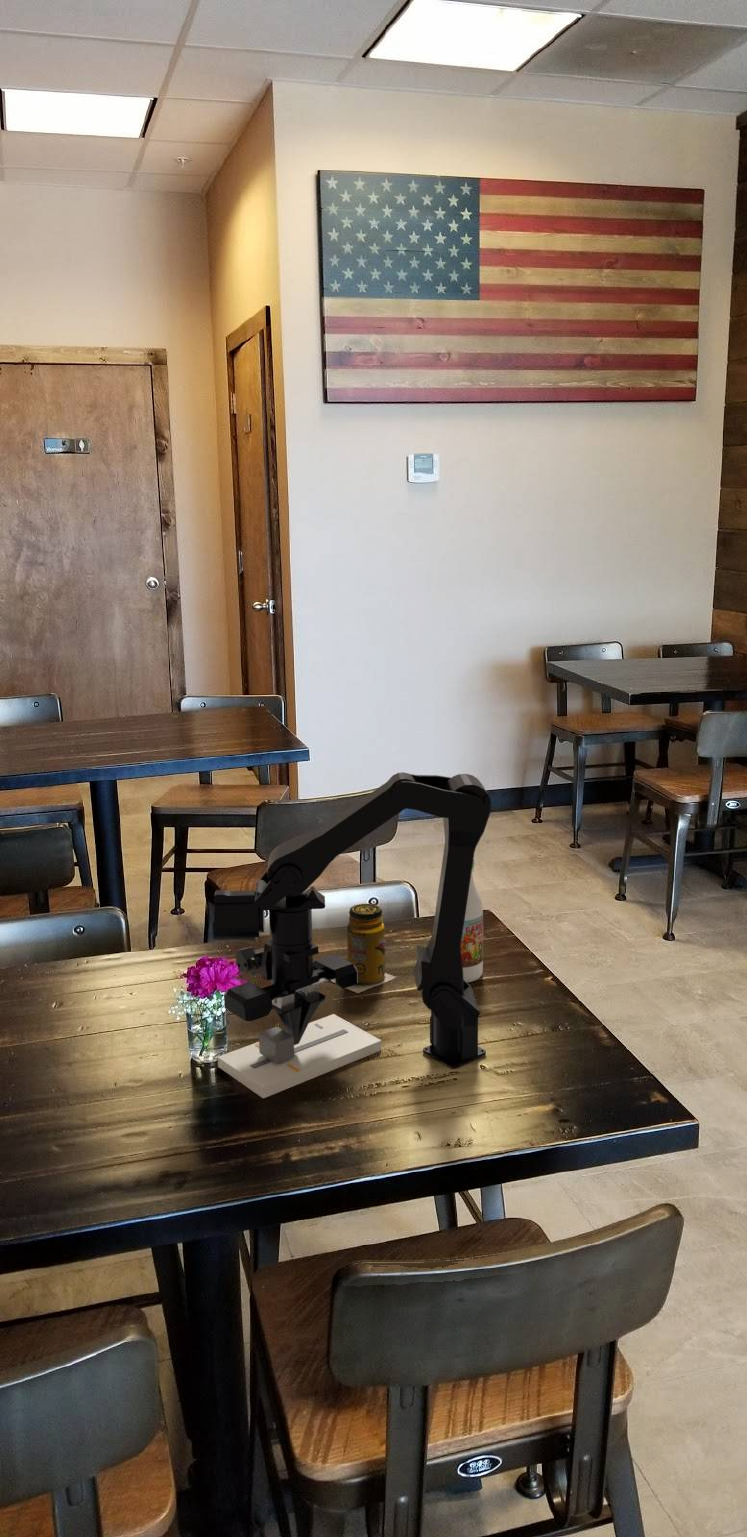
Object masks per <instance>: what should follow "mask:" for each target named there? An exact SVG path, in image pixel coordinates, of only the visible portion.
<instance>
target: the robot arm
mask: <svg viewBox="0 0 747 1537" xmlns="http://www.w3.org/2000/svg"><path fill="white" fill-rule="evenodd" d="M406 809H408V810H414V811H418V812H421V813H425V814H429V815H431V816H435V817H439V818H442V819H443V820H442V821H443V822H442V823H443V830H444V848H443V854H442V859H441V860H442V861H441V869H440V876H439V883H438V889H437V890H438V891H437V896H436V899H437V900H436V903H437V904H435V913H434V920H433V926H432V927H433V928H432V934H431V938H430V940H429V942H428V944H427V945H426V946H421V945H416V962H415V965H414V967H413V969H412V971H413V972H412V973H413V977H414V980H415V985H416V989H417V992H420V995H421V999H422V1002H423V1004H424V1005H425V1007H426V1008H427V1009H429V1010H430V1017H429V1043H430V1045H428V1046H425V1047H423V1048H422V1052H423V1054H425V1055H427V1056H429V1057H431V1058H433V1059H434V1060H436V1061H438V1062H440V1063H442V1064H444V1065H445V1066H447V1067H449V1068H450V1069H451V1068H452V1069H457V1068H459V1067H461V1066H463V1065H466V1064H467V1063H470V1062H472V1061H474V1060H477V1059H479V1058H481V1057H484V1056H485V1055H487V1050H486V1049H484V1048H482V1047H481V1046H479V1017H480V1014H481V1012H480V1009H479V1006H478V1003H477V1000H476V997H475V994H474V991H473V988H472V986H471V984H469V982H468V983H467V982H466V981H465V980H463V966H462V956H461V941H462V935H463V928H464V921H465V914H466V907H467V900H468V893H469V886H470V879H471V872H472V865H473V859H474V860H475V858H474V857H475V852H476V849H477V846H478V844H479V843H480V840H481V839H482V837H483V836H484V833H485V830H486V826H487V823H488V820H489V818H490V815H491V811H492V800H491V797H490V795H489V793H488V792H487V790H486V788H485V786H484V785H483V783H482V782H481V780H480V779H479V778H478V777H475V775H472V774H470V773H469V774H468V773H458V774H455V775H453V776H452V777H451V776H450V777H449V776H444V775H439V774H438V775H436V774H434V775H432V774H414V773H412V774H411V773H408V772H403V771H401V772H397V773H395V774H393V775H392V776H391V777H390V778H389V779H388V780H386V782H384V783H383V784H382V785H380V786H379V787H378V788H376V789H375V790H373V791H372V792H371V793H369V794H368V795H366V796H365V797H363V798H362V799H361V800H359V801H357V802H356V803H355V804H353V805H352V806H350V807H349V808H347V809H346V810H345V811H343V812H342V813H339V814H338V816H336V817H335V818H333V819H332V820H330V821H329V822H327V823H325V824H324V825H322V827H320V828H318V829H316V830H313V831H311V832H308V833H307V832H306V833H303V834H301V835H298V836H295V837H294V838H291V839H289V840H287V841H285V842H283V843H281V844H279V845H276V846H275V848H274V849H272V851H271V852H270V855H269V857H268V862H267V869H266V870H265V872H264V873H263V874H262V876H261V877H260V878H259V880H258V881H257V882H256V884H255V889H254V890H228V889H217V890H215V892H214V895H213V896H214V897H213V900H214V906H213V907H214V908H213V909H214V910H213V919H212V920H213V921H212V935H213V936H212V937H213V941H214V942H215V943H216V942H241V941H242V942H243V941H246V942H247V941H257V938H260V933H265V930H266V929H265V928H266V925H265V923H266V920H265V911H268V918H269V919H268V922H269V941H267V942H264V945H263V947H262V948H258V949H254V948H253V947H252V946H249V947H248V946H247V947H243V948H240V949H237V950H236V952H235V953H236V954H235V955H236V958H235V962H236V966H237V970H238V971H239V972H240V973H249V976H254V975H256V974H257V975H261V979H263V980H264V981H270V983H271V984H270V985H267V986H265V987H259V986H258V985H256V984H254V983H252V982H251V981H248V982H244V983H241V984H239V985H236V986H233V987H229V988H228V989H227V990H226V991H225V993H224V996H223V1000H224V1001H223V1002H224V1003H223V1005H224V1008H225V1009H226V1010H227V1011H229V1012H230V1013H232V1014H234V1015H235V1016H236V1017H239V1019H242V1020H243V1021H245V1022H253V1021H256V1020H259V1019H262V1018H264V1017H267V1016H269V1014H270V1013H271V1011H272V1010H274V1011H275V1012H276V1014H277V1015H278V1018H279V1020H280V1022H281V1024H282V1026H283V1029H284V1031H285V1032H287V1033H288V1034H290V1035H292V1036H293V1037H294V1045H296V1044H299V1042H300V1040H301V1038H302V1036H303V1034H304V1032H305V1030H306V1028H307V1026H308V1024H309V1023H311V1022H310V1021H311V1019H312V1018H313V1016H314V1015H315V1013H316V1011H317V1009H318V1007H319V1006H320V1004H321V1003H322V1002H324V1001H325V1000H326V995H325V994H323V993H322V992H320V984H323V983H326V982H331V980H332V979H335V978H336V983H335V985H336V986H338V988H341V989H342V990H344V989H345V988H347V987H350V986H353V985H355V984H357V983H358V971H357V969H356V967H355V965H354V964H353V963H351V962H349V961H348V959H347V960H346V959H345V958H342V957H340V956H338V955H336V954H334V953H333V954H331V955H328V956H325V957H322V958H319V959H315V960H314V955H317V954H319V946H318V945H317V944H314V943H313V911H312V910H322V909H325V908H326V897H325V895H324V894H322V893H321V892H319V891H318V890H317V889H316V887H315V886H313V883H314V882H316V880H318V878H320V877H321V875H322V874H323V872H324V871H325V870H326V869H327V868H328V866H329V865H330V864H331V863H332V862H333V861H334V860H335V859H336V858H337V857H338V856H339V855H342V853H344V852H345V851H347V850H348V849H349V848H351V847H353V845H355V844H357V843H358V842H360V841H361V840H362V839H364V838H366V837H367V836H368V835H370V834H371V833H372V832H374V831H375V830H377V829H378V828H380V827H381V826H383V825H384V824H386V823H387V822H388V821H391V819H393V818H394V817H396V816H397V815H398V814H400V813H402V812H403V811H404V810H406ZM472 873H473V872H472ZM309 887H310V888H309ZM308 888H309V889H308Z"/></svg>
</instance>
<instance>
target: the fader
mask: <svg viewBox="0 0 747 1537" xmlns="http://www.w3.org/2000/svg"><path fill="white" fill-rule="evenodd" d="M258 1042H259V1052H260V1054H262V1055H263V1056H265V1057H266V1058H268V1059H269V1060H271V1061H272V1062H274V1063H275V1064H277V1063H280V1062H283V1061H285V1060H288V1059H290V1058H293V1057H294V1037H293V1036H292V1035H290V1034H288V1033H287V1032H285V1029H284V1030H283V1028H280V1027H279V1026H275V1027H271V1028H268V1029H266V1030H263V1031H260V1032H258Z"/></svg>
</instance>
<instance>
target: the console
mask: <svg viewBox="0 0 747 1537" xmlns="http://www.w3.org/2000/svg"><path fill="white" fill-rule="evenodd" d="M381 1051H382V1039H380V1038H378V1037H375V1036H374V1035H372V1034H370V1033H369V1032H367V1031H365V1030H364V1029H361V1028H360V1027H358V1026H356V1025H354V1024H353V1023H351V1022H349V1021H347V1020H345V1019H343V1018H341V1017H340V1016H338V1015H336V1014H335V1013H333V1014H329V1015H328V1016H327V1015H326V1016H325V1017H321V1018H319V1019H316V1020H314V1021H311V1022H309V1024H308V1026H307V1028H306V1030H305V1032H304V1034H303V1036H302V1038H301V1040H300V1042H299V1044H296V1045H294V1057H293V1058H290V1059H288V1060H285V1061H283V1062H280V1063H277V1064H275V1063H274V1062H272V1061H271V1060H269V1059H268V1058H266V1057H265V1056H263V1055H262V1054H260V1052H259V1041H256V1042H255V1043H252V1044H249V1045H246V1046H244V1047H240V1048H238V1049H236V1050H233V1051H230V1052H227V1053H224V1054H222V1055H219V1056H217V1067H218V1068H219V1069H221V1070H222V1071H223V1072H225V1073H226V1074H228V1075H229V1076H230V1077H232V1078H233V1079H235V1080H236V1081H238V1082H239V1083H240V1084H242V1085H243V1086H245V1087H246V1088H248V1089H249V1090H250V1091H252V1092H253V1093H254V1094H257V1095H258V1096H259V1097H260V1098H262V1099H266V1098H268V1097H271V1096H273V1095H276V1094H278V1093H280V1092H283V1091H285V1090H288V1089H289V1088H293V1087H295V1086H297V1085H300V1084H302V1083H305V1082H306V1081H309V1080H312V1079H314V1078H317V1077H320V1076H321V1075H325V1074H327V1073H329V1072H332V1071H334V1070H336V1069H339V1068H342V1067H344V1066H346V1065H349V1064H351V1063H354V1062H356V1061H358V1060H361V1059H363V1058H366V1057H368V1056H371V1055H373V1054H376V1053H379V1052H381Z"/></svg>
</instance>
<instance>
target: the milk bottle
mask: <svg viewBox="0 0 747 1537" xmlns="http://www.w3.org/2000/svg"><path fill="white" fill-rule="evenodd" d="M474 867H475V858H474V859H473V865H472V872H471V879H470V886H469V893H468V900H467V907H466V914H465V921H464V928H463V935H462V941H461V956H462V966H463V980H465V981H466V982H467V983H468V984H469V983H471V982H475V981H477V980H479V979H480V978H481V977H482V975H483V971H484V970H483V968H484V965H483V964H484V912H483V911H484V907H483V902H482V898H481V896H480V893H479V891H478V888H477V886H476V883H475V882H474V876H473V873H474V871H475V868H474ZM436 904H437V902H436ZM436 904H435V905H436Z"/></svg>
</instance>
